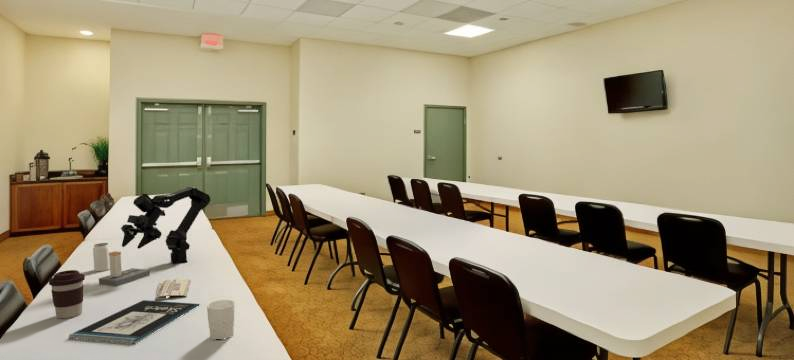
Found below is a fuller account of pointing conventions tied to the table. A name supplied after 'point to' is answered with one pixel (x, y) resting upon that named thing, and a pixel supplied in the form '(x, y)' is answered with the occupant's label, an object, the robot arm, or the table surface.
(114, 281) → the console
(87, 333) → the sketchbook
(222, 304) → the white cup
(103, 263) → the can
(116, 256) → the fader knob
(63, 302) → the coffee cup
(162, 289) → the open book
